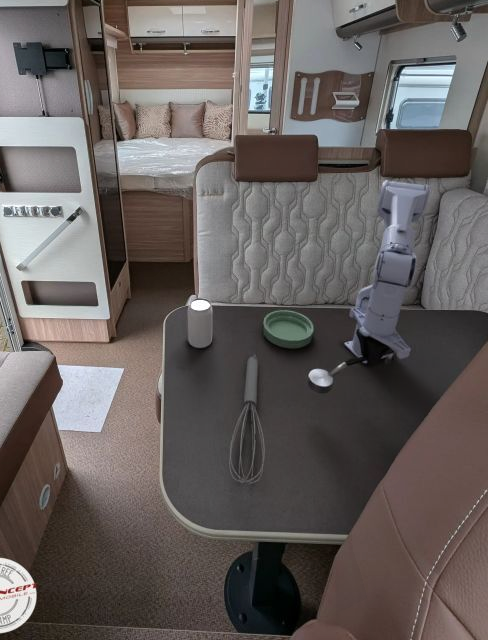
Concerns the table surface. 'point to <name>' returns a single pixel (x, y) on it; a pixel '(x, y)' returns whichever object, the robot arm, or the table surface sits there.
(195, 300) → the can
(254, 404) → the kitchen whisk
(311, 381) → the ladle
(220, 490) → the table surface
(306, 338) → the bowl
